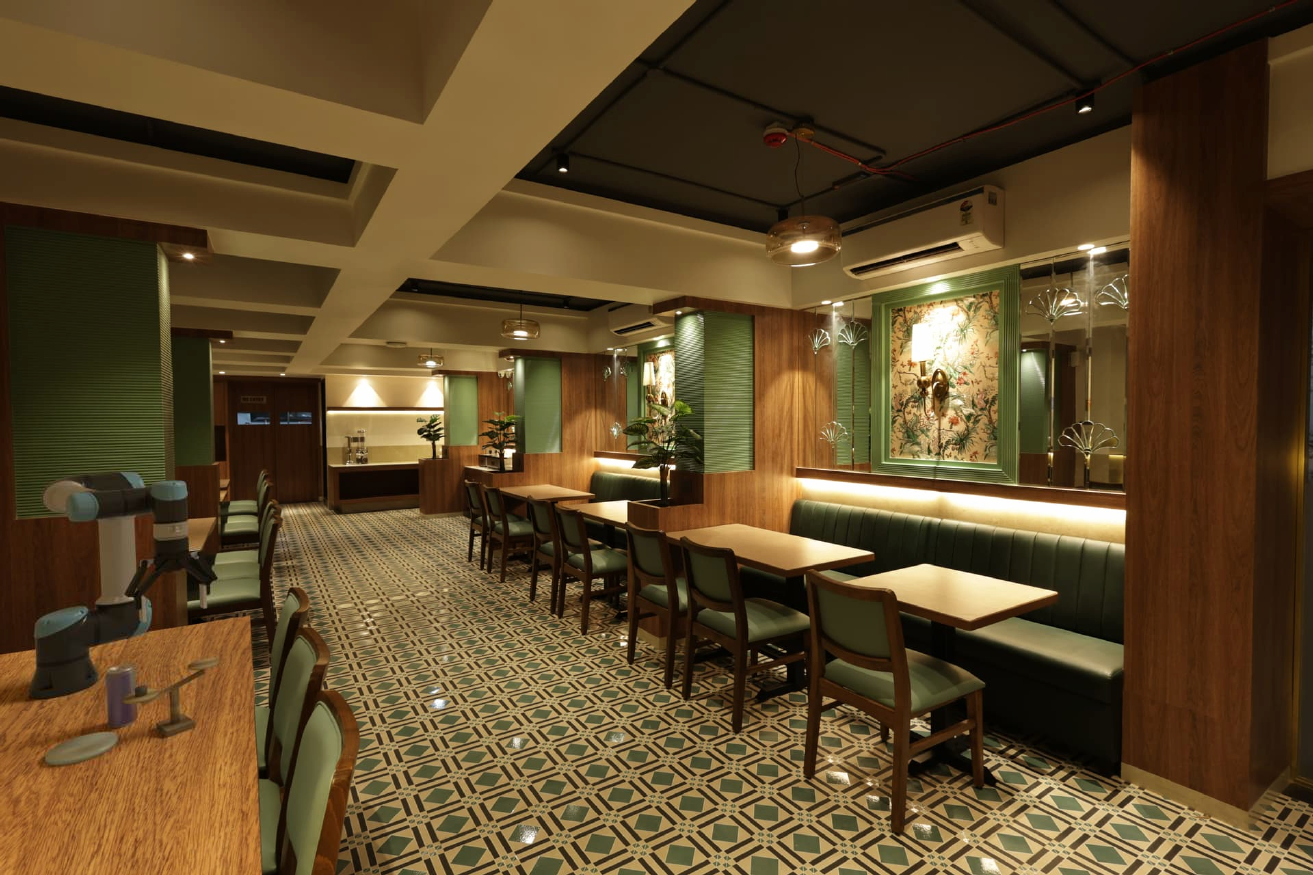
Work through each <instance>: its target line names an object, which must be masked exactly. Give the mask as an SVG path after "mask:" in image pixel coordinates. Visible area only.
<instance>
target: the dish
mask: <svg viewBox="0 0 1313 875" xmlns="http://www.w3.org/2000/svg"><path fill="white" fill-rule="evenodd" d="M118 742H119V739H118V734H117V733H116V732H112V731H100V732H94V733H89V734H84V735H80V736H78V737H74V738H70V739H68V740H66V741H64V742H61V743H59V744H57V745H56V746H55V745H54V746H53V747H52V748H50V749H49V750H48V751H47V752H46V754H45V755H44V757H45V758H44V762H45V764H46V765H48V766H55V767H57V766H58V767H60V766H69V765H74V764H78V763H81V762H85V761H87V760H90V759H94V758H97V757H98V756H101V755H102V754H105V753H107V752H108V751H110V750H112V749H113V748H114V747H116V745H117V744H118Z"/></svg>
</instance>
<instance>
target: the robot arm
mask: <svg viewBox="0 0 1313 875" xmlns="http://www.w3.org/2000/svg"><path fill="white" fill-rule="evenodd" d="M187 489H188V487H187V483H186V482H185V481H183V480H164V481H162V480H161V481H156V482H154V483H152V485H147V486H146V485H145V482H144V481H143V479H142V477H141V475H139V474H138V473H136V472H134V471H115V472H103V473H101V472H100V473H88V474H73V475H68V476H64V477H61V478H58V479H55V480H54V481H52V482H50V483H49V484H47V485H46V486H45V487H44V488H43V490H42V492H41V494H40V501H41V503H42V506H43V507H45V508H46V509H47V510H49V511H50V512H54V513H58V514H66V516H67V518H68V520H69V521H71V522H74V523H75V522H76V523H77V522H78V523H79V522H91V521H97V522H98V537H99V538H98V540H99V542H98V544H99V563H100V585H101V589H100V590H101V596H100V597H99V598H97V599H96V601H95V607H94V608H90V609H89V608H88V606H85V605H77V606H71V607H70V606H69V607H66V608H62V609H59V610H56V611H53V612H50V613H47V614H45V615H43V616H41V617H40V618H39V619H38V620H37V621H36V622H35V624H34V635H33V637H34V644H35V648H34V649H35V662H36V663H35V665H36V666H35V667H36V668H35V671H34V673H33V676H32V679H31V681H30V683H29V687H28V695H29V698H32V699H49V698H50V699H51V698H56V697H57V698H58V697H61V696H66V695H69V694H74V693H77V692H80V691H82V690H85V689H89V688H90V687H91V686H94V685H95V684H96V683H97V682H99V672H98V670H97V669H96V667H95V664H94V663H93V660H92V659H91V656H90V649H91V648H93V647H94V648H95V647H98V646H102V645H107V644H110V643H115V642H119V641H124V640H130V639H133V638H135V637H140V636H142V635H144V634H146V633H147V631H148V629H149V627H150V625H151V621H152V617H153V616H152V615H153V614H152V612H153V608H152V607H151V606H152V604H151V600H150V599H148V598H146V596H144V595H145V593H146V592H147V591H148V590H149V589H150V587H151V586H152V585H153V584H154V583H155V582H156V580H158V578H159V577H161V575H162V574H163V573H167V574H168V573H171V572H177V571H179V572H180V571H182V570H183V569H184V570H186V572H188V573H190V574H191V575H192V576H194V577H195V578H196V579H198V580H199V581H200V582H201V583H199V584H198V586H199V607H200V608H202V609H207V608H208V600H207V597H208V596H210V595H211V584H212V583H213V582H214V581H218V579H219V578H218V576H217V574H216V573H215V572H214V570H213V568H212V567H211V566H210V565H209V562H208V561H207V560H206V559H205V555H204V552H203V551H202V550H201V549H200V550H199V549H196V550H195V551H193V552H191V551H190V539H189V538H190V537H188V536H187V535H189V517H188V516H189V515H188V513H189V512H188V511H189V510H188V509H189V508H188V494H189V492H188V490H187ZM141 515H142V516H143V515H152V530H153V532H152V533H153V534H152V536H153V538H154V541H153V555H154V556H153V558H147V559H145V558H141V559H139V561H138V568H137V558H136V557H137V556H136V552H137V551H136V534H135V533H136V532H135V531H136V530H135V528H136V527H135V518H136V517H137V516H141ZM192 558H193V559H194V560H196V561H197V563H198V564H199V565H200V567H201V568H202V570H203V571H204V572H205V574H206V575H207V576H208V577H206V576H205V575H203V574H202V573H201V572H200V571H198V570H197V569H196V568H195V567H193V566H192V565H191V564H189V561H190V560H191V559H192ZM152 564H153V565H154V566H155V568H153V569H152V571H151V572H150V574H149V575H148V576H147V578H146V579H145V580H144V581H143V582H142V580H143V577H144V576H145V575H146V572H147V570H148V568H150V567H151V565H152ZM141 582H142V583H141ZM140 583H141V584H140ZM139 585H140V586H139Z"/></svg>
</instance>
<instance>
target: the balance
mask: <svg viewBox="0 0 1313 875" xmlns="http://www.w3.org/2000/svg"><path fill="white" fill-rule="evenodd" d="M220 660H221V659H220V658H218V657H207V658H201V659H198V660H194V661H192V662H190V663H188V665H187V670H188V671H196V672H194V673H193V674H190V675H189V676H187V677H185V678H182V679H181V680H179V681H177V682H174V684H171V685H169V686H168V687H166V688H164V689H162V690H159V689H157V688H148V685H146V684H143V685H139V686H136V688H135V692H134V693H131V694H129V695H127V696H125V697H124V698H123V703H125V704H135V703H137V704H141V706H143V707H144V706H147V705H149V704H151V703H153V702H154V701H156V700H159V699H160V698H162V697H164V696H165V695H168V697H169V716H170V718H166V719H163V720H159V721H157V722H155V729H156V730H158V732H160V733H161V734H162V735H163V736H165V737H166V738H169V737H172V736H174V735H178V734H179V733H183V732H186V731H188V730H192V729H194V728H195V727H196V721H195V720H193V719H192V718H190V717H189V716H187V715H186V714H185V713H181V709H180V687H182V686H184V685H186V684H188V683H190V682H192V681H194V680H196V679H198V678H199V677H201V676H203V675H205V674H206V672H205V671H206V670H207V669H210V668H214V667H216V666H218V665H219V664H220Z"/></svg>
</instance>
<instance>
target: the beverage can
mask: <svg viewBox="0 0 1313 875" xmlns="http://www.w3.org/2000/svg"><path fill="white" fill-rule="evenodd" d="M136 669H137V668H136V667H135V664H133V663H131V664H130V663H128V664H120V665H115V666H113V667H111V668H109V669H107V671H106V675H105V683H106V684H105V686H106V687H105V688H106V708H107V712H106V713H107V725H108V727H109V728H112V729H119V728H122V727H127V726H129V725H132V724H133V723H135V722H136V721H137V719H138V703H135V704H125V703H123V698H124V697H125V696H127V695H129V694H131V693H134V692H135V688H136V687H137V670H136Z"/></svg>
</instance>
